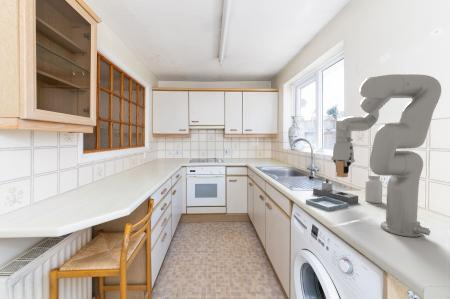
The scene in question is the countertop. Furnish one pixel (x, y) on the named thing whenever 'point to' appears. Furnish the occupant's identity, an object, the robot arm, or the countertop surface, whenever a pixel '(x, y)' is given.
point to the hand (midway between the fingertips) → (342, 172)
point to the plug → (341, 169)
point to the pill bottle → (373, 189)
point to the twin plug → (327, 185)
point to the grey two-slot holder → (336, 195)
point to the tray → (326, 203)
